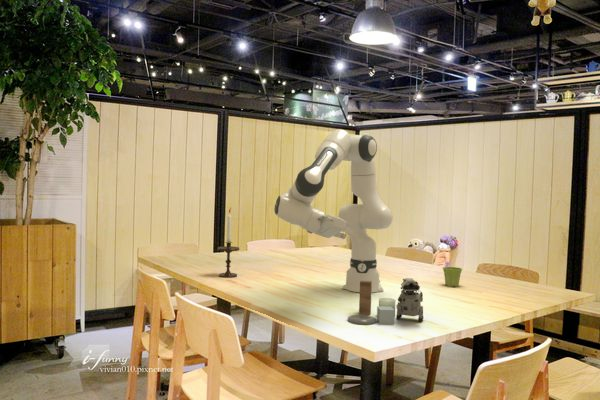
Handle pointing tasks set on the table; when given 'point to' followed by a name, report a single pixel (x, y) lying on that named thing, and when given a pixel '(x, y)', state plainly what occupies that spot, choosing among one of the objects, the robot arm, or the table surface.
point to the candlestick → (228, 250)
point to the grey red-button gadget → (410, 300)
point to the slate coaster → (362, 319)
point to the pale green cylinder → (387, 302)
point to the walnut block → (365, 297)
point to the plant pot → (452, 276)
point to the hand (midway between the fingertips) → (348, 235)
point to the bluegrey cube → (385, 315)
